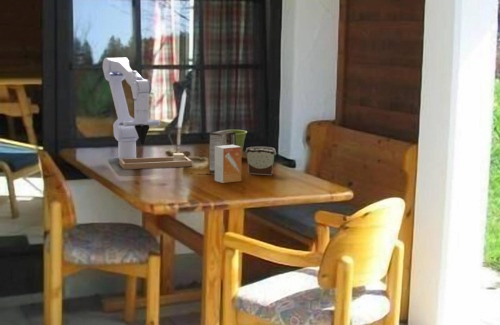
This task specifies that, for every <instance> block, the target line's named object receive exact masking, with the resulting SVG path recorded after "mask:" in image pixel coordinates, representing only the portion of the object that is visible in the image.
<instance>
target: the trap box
mask: <svg viewBox="0 0 500 325" xmlns="http://www.w3.org/2000/svg"><path fill="white" fill-rule="evenodd" d="M118 160H119V162H118V163H119V166H120V167H121V168H122V169H123V170H133V169H135V170H136V169H159V168H176V167H177V168H178V167H192V166H193V164H192V163H193V160H192V159H190V158H189V157H187V156H186V155H185V161H173V156H159V157H158V156H155V157H136V158H128V159H119V158H118Z"/></svg>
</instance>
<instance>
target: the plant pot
mask: <svg viewBox="0 0 500 325" xmlns="http://www.w3.org/2000/svg"><path fill="white" fill-rule="evenodd" d="M226 130H227V131H233V132H235V138H236V146H240V147H242V149H241V158H242V156H243V150H244V144H245V139H246V137H247V136H246V135H247V133H248V131H247V130H242V129H226Z"/></svg>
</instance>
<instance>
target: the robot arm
mask: <svg viewBox="0 0 500 325" xmlns="http://www.w3.org/2000/svg"><path fill="white" fill-rule="evenodd" d="M102 71H103V76H104V79H105V80H106V81H107V82H108V83H109V88H110V92H111V96H112V101H113V104H114V108H115V113H116V116H117V119H116V120H115V121H114V123H113V125H112V127H113V128H112V129H113V137H114V138H115V140H116V141H118V142H117V143H118V144H117V146H118V147H117V149H118V153H117V156H118V160H119V159H128V158H137V141H138V140H139V145H140V146H141V145H145V142H146V137H147V136H148V135H147V134H148V132H149V130H150V126H151V127H152V126H153V127H154V126H156V127H157V126H158V127H159V126H161V120H159V119H158V120H157V119H155V120H150V106H149V104H150V103H149V102H150V100H149V99H150V98H149V96H150V94H151V92H152V83H151V81H150V80H149V78H146V79H145V78H143V77H142V76H141V74H140V73H139V72H138V71H137V70H133V69H132V68H131V66H130V60H129V59H128V57H105V58H104V59H103V61H102ZM124 80H125V81H126V83H127V84H128V85H129V86H130V87H131V89H130V90H131V93H132V98H133V102H134V103H133V109H134V112H133V113H134V116H133V117H132V116H131V115H130V111H129V108H128V103H127V99H126V96H125V91H124V87H123V84H122V82H123V81H124Z"/></svg>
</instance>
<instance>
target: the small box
mask: <svg viewBox="0 0 500 325" xmlns="http://www.w3.org/2000/svg"><path fill="white" fill-rule="evenodd" d="M241 149H242V147H240V146H236V145H223V146H215V171H214V172H215V174H214V181H215V182H217V183H222V184H225V183H235V182H238V183H239V182H242V157H241Z"/></svg>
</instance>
